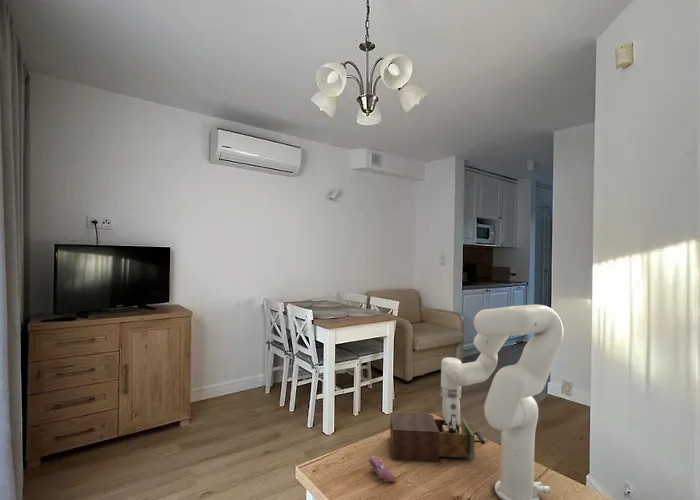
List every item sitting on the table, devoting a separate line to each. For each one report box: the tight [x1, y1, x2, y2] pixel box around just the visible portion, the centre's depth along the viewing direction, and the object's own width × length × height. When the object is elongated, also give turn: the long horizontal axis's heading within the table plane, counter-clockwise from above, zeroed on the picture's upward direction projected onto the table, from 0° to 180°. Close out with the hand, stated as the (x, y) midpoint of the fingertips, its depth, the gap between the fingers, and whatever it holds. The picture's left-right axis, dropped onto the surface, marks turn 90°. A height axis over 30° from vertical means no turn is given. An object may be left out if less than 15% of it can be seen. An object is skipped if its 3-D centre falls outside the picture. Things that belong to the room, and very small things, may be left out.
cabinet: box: [389, 412, 440, 462], centre depth 139 cm, size 17×15×11 cm
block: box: [442, 425, 457, 433], centre depth 139 cm, size 5×5×5 cm
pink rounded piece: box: [367, 455, 396, 483], centre depth 122 cm, size 10×5×7 cm, turn 25°
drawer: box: [434, 418, 486, 461], centre depth 139 cm, size 20×13×9 cm, turn 87°
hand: (449, 439), depth 139 cm, fingers closed on block, 4 cm apart
